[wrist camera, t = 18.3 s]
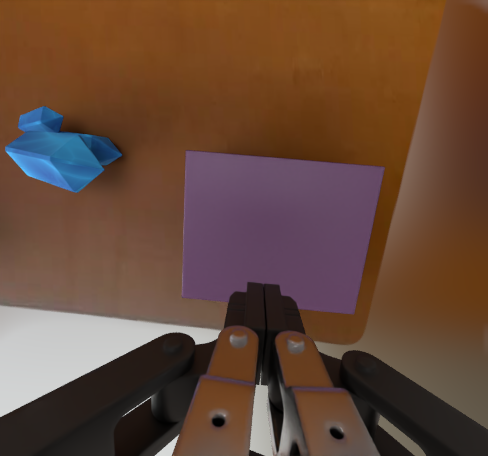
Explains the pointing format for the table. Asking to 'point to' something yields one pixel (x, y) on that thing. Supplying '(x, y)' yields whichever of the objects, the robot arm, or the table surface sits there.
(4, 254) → the table surface
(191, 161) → the lid
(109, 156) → the gemstones
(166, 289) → the table surface
